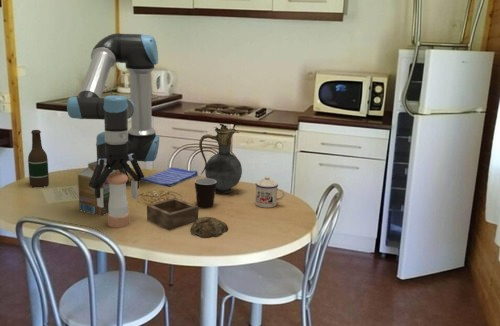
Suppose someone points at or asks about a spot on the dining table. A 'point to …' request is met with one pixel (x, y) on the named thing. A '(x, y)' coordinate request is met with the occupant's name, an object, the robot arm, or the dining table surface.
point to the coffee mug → (205, 192)
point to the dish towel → (170, 177)
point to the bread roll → (208, 227)
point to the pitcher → (222, 161)
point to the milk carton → (92, 191)
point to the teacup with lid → (267, 193)
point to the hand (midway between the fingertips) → (118, 202)
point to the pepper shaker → (118, 200)
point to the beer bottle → (38, 162)
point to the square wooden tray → (172, 213)
